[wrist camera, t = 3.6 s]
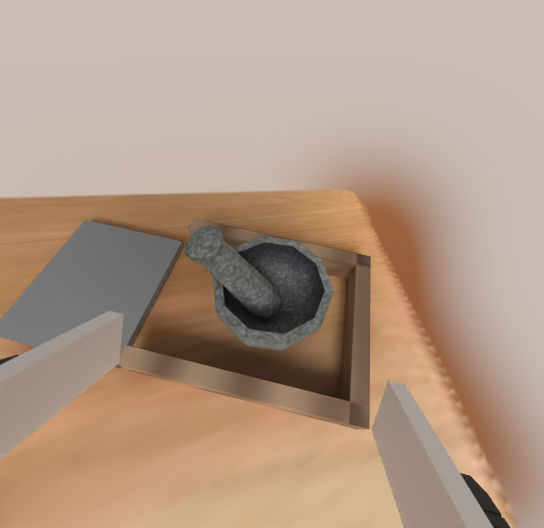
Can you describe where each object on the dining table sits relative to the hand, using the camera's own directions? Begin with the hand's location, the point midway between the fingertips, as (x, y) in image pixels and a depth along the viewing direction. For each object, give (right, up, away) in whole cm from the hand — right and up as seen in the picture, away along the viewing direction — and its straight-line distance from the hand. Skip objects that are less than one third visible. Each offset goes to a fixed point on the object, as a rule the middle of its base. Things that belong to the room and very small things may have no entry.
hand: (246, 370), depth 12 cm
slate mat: (-17, +3, +14) cm, 22 cm away
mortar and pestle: (0, 0, +14) cm, 14 cm away
